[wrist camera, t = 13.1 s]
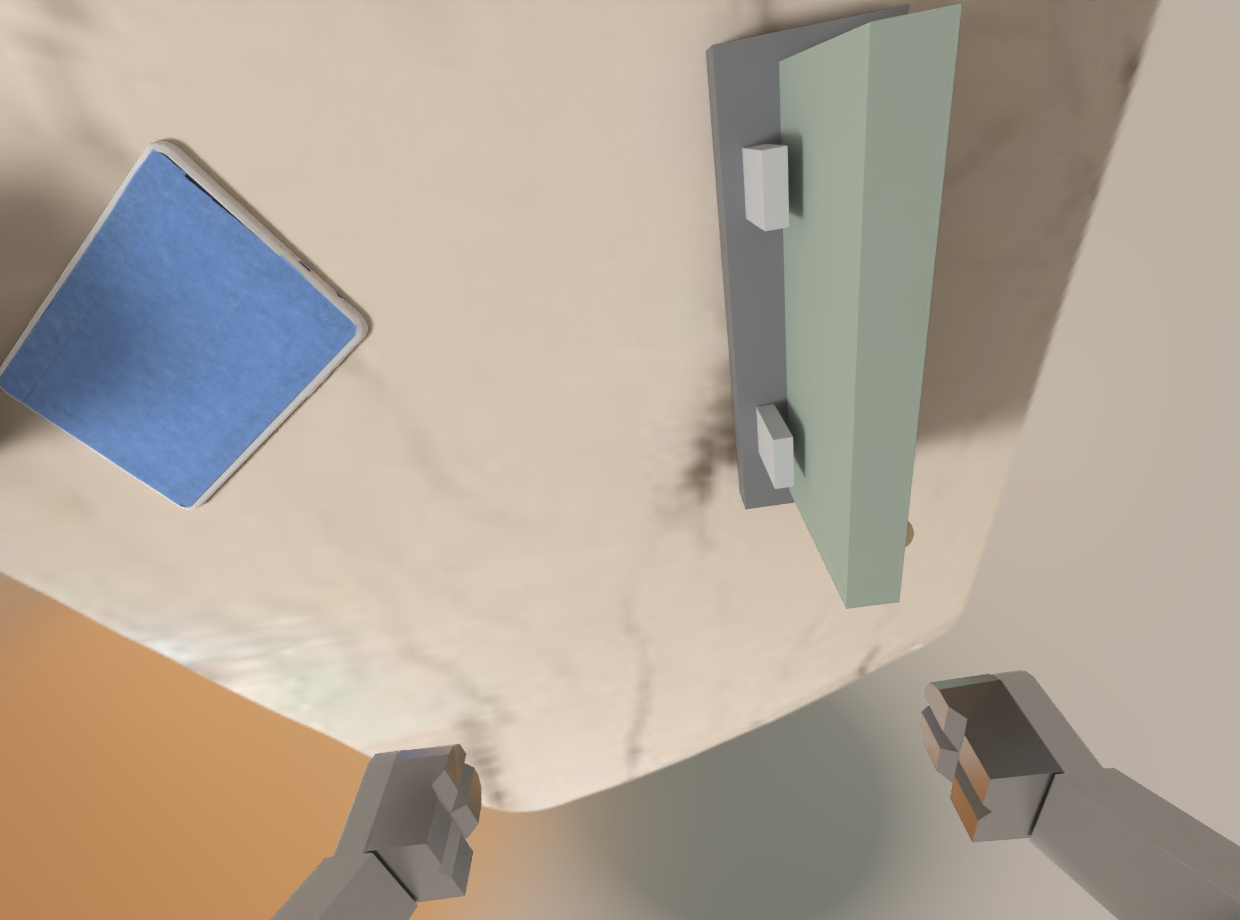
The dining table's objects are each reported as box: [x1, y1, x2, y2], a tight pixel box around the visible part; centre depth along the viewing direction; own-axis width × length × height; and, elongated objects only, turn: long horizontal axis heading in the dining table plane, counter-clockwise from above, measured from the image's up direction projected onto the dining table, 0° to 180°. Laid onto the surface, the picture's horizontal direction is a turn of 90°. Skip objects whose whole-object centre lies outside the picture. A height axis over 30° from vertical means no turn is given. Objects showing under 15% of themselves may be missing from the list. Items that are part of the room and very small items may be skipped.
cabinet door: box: [779, 3, 962, 609], centre depth 25 cm, size 22×4×10 cm, turn 10°
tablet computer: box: [0, 140, 368, 510], centre depth 32 cm, size 19×13×1 cm, turn 131°
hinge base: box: [706, 5, 909, 509], centre depth 28 cm, size 24×8×6 cm, turn 10°
